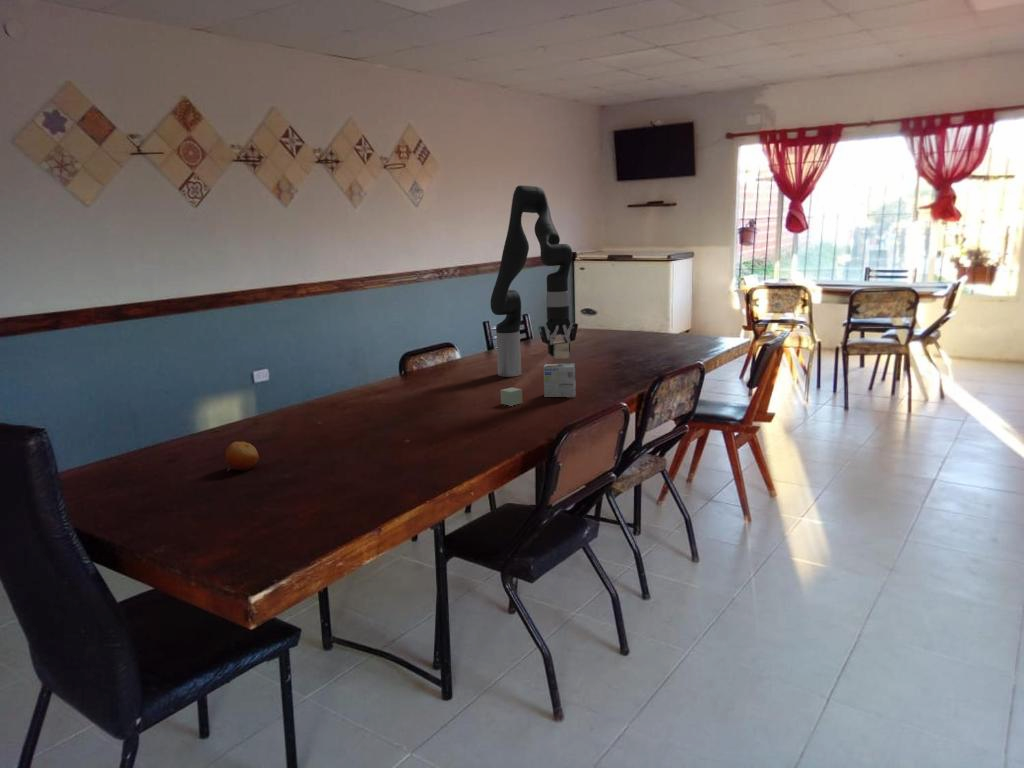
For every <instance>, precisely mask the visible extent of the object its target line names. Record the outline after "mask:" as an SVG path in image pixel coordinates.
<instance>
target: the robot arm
mask: <svg viewBox="0 0 1024 768" xmlns="http://www.w3.org/2000/svg"><path fill="white" fill-rule="evenodd" d="M510 207H511V208H510V215H509V222H508V228H507V232H506V236H505V242H504V246H503V249H502V254H501V255H502V256H501V261H500V265H499V269H498V273H497V278H496V281H495V283H494V286H493V290H492V293H491V297H490V309H491V312H492V313H493V314H494V316H495V315H496V316H505V318H503V320H502V321H500V322H499V323H497V324H496V326H495V335H496V338H495V339H496V354H497V355H496V357H497V360H496V362H497V375H498V376H499V377H502V378H503V377H506V378H507V377H508V378H510V377H511V378H513V377H518V376H521V375H522V360H521V359H522V357H521V355H522V354H521V332H520V330H521V323H522V301H521V295H520V294H519V292H518V291H517V290H516V289H509V288H510V287H511V284H512V283H513V281H514V279H515V278H516V277H517V276H518V275H519V274H520V272H521V271H522V270H523V269H524V267H525V265H526V262H527V260H528V259H527V258H528V256H529V255H528V254H529V250H530V245H529V241H528V239H527V236H526V233H525V231H524V228H523V225H522V216H523V213H529V214H537V215H538V217H537V220H536V221H535V224H534V234H535V237H536V239H537V241H538V243H539V248H540V260H541V263H542V264H543V265H544V266H547V267H556V266H559V267H558V269H557V271H554V272H552V273H549V274H547V275H546V298H545V299H546V300H545V301H546V320H547V321H546V324H544V325H539V326H538V330H539V331H538V332H539V335H540V339H541V342H542V343H544V344H546V345H547V353H548V355H549V357H550V356H554V345H553V342H555V339H557V337H556V336H559V335H561V337H562V339H563V342H567V343H569V353H570V352H571V343H572V342H574V341H576V338H577V332H578V331H577V330H578V327H579V324H578V323H577V322H576V323H575V322H571V321H570V297H569V288H568V287H569V282H568V281H569V280H568V279H569V273H570V269H571V265H572V260H573V249H572V247H571V246H570V245H569V244H568V243H560V242H561V238H560V234H559V233H558V231H557V229H556V227H555V224H554V222H553V219H552V216H551V210H550V206H549V202H548V199H547V195H546V192H545V191H544V189H543V188H541V187H539V186H532V185H517V186H516V187H515V189H514V191H513V194H512V199H511V206H510ZM569 329H570V331H569V332H568V330H569ZM547 330H548V331H549V332H548V335H547Z"/></svg>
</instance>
